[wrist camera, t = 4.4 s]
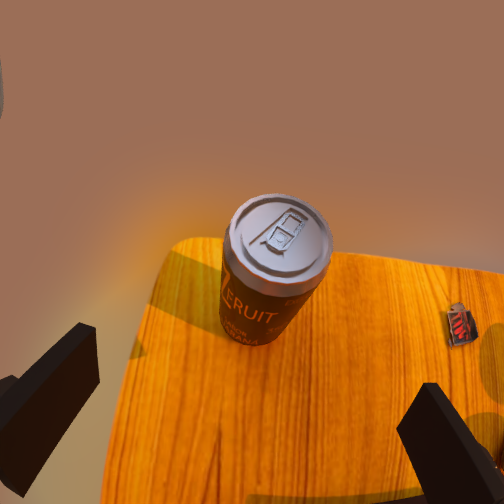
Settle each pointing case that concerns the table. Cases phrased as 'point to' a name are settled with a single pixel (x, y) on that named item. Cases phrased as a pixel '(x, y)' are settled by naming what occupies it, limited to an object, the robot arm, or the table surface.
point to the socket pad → (408, 500)
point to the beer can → (271, 265)
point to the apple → (502, 460)
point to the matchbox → (462, 325)
